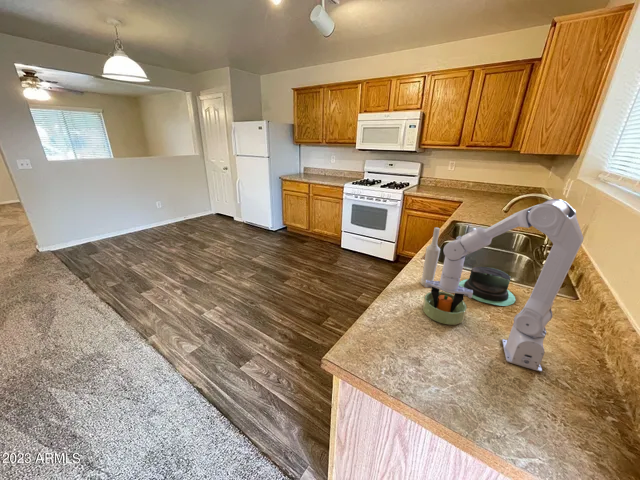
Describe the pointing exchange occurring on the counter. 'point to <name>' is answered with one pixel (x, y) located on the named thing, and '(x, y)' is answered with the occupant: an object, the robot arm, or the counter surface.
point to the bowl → (442, 315)
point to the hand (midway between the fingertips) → (443, 308)
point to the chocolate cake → (489, 286)
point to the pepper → (444, 303)
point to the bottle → (431, 259)
